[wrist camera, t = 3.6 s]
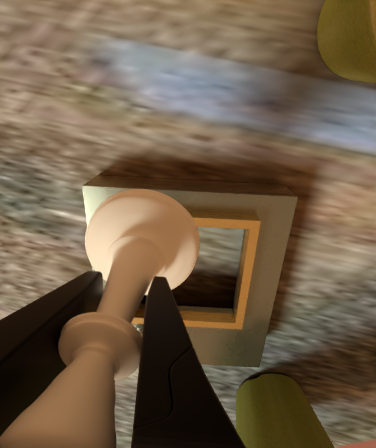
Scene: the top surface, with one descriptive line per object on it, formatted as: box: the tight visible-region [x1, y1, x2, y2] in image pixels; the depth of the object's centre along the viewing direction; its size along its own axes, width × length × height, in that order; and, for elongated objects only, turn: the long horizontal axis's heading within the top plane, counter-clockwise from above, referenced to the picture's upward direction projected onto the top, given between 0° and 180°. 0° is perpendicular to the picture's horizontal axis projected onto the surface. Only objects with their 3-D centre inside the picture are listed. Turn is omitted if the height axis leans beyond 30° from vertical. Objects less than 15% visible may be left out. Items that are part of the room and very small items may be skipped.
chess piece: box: [0, 189, 200, 448], centre depth 7 cm, size 5×5×10 cm
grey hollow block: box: [82, 175, 298, 367], centre depth 21 cm, size 14×16×5 cm
